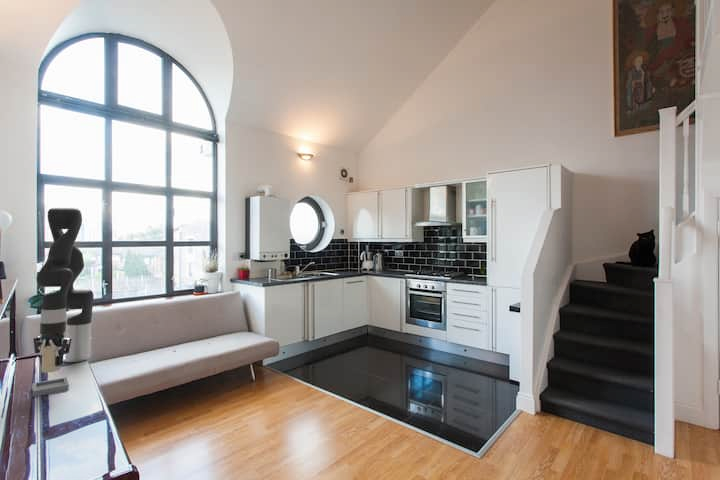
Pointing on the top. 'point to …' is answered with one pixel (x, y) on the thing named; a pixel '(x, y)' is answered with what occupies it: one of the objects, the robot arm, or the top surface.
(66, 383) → the holder
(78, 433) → the top surface
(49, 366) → the candle
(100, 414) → the top surface
